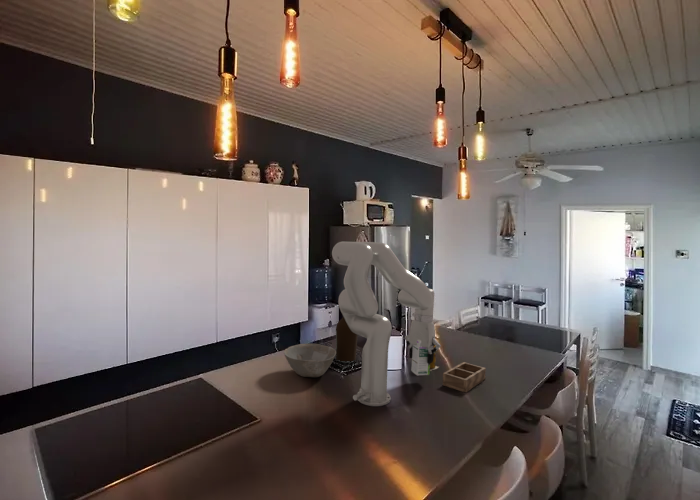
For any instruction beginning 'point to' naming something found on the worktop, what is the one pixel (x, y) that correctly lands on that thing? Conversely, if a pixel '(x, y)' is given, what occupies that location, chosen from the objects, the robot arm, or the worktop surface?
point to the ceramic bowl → (310, 359)
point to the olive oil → (345, 342)
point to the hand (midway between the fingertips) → (420, 359)
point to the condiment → (432, 365)
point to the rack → (464, 377)
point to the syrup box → (420, 360)
